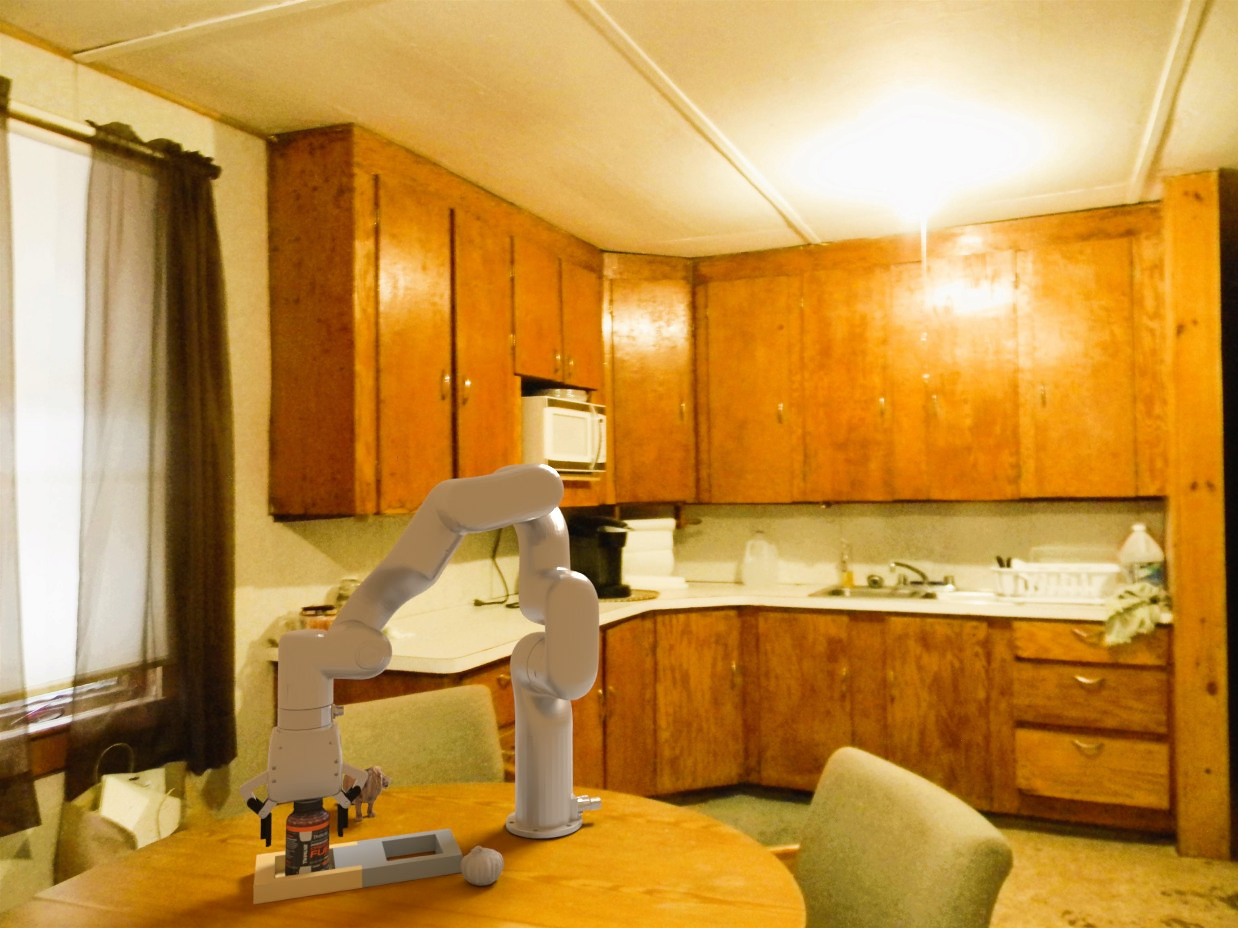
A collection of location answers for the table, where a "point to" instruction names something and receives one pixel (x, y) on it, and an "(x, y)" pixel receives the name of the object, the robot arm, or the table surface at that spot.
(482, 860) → the garlic
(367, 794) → the lion figurine
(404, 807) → the table surface
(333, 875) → the beige and grey tray
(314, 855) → the supplement bottle
